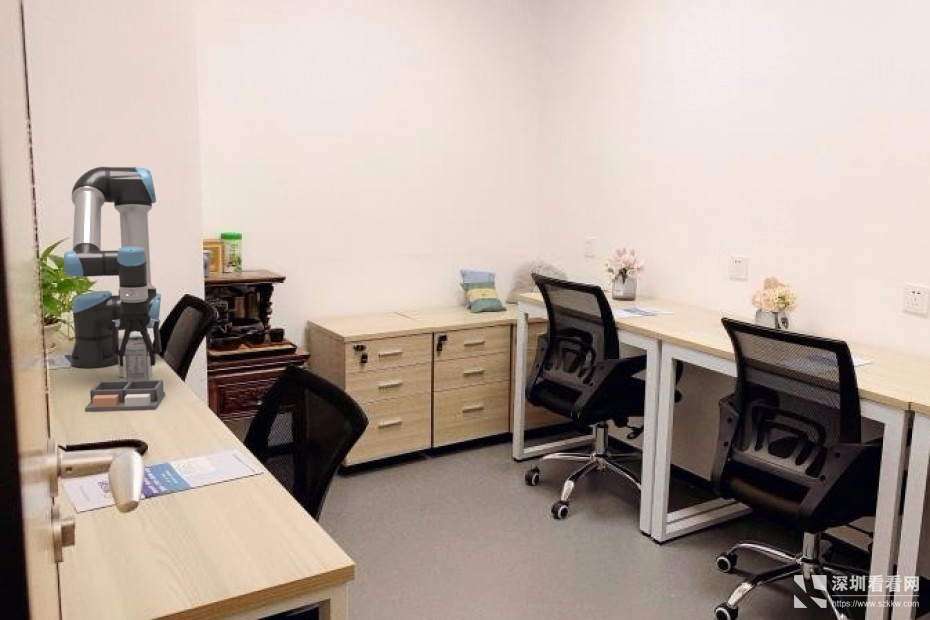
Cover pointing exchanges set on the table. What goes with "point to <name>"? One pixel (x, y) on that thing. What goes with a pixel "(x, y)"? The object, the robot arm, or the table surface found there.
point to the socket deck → (128, 390)
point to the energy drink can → (137, 359)
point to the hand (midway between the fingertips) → (138, 376)
